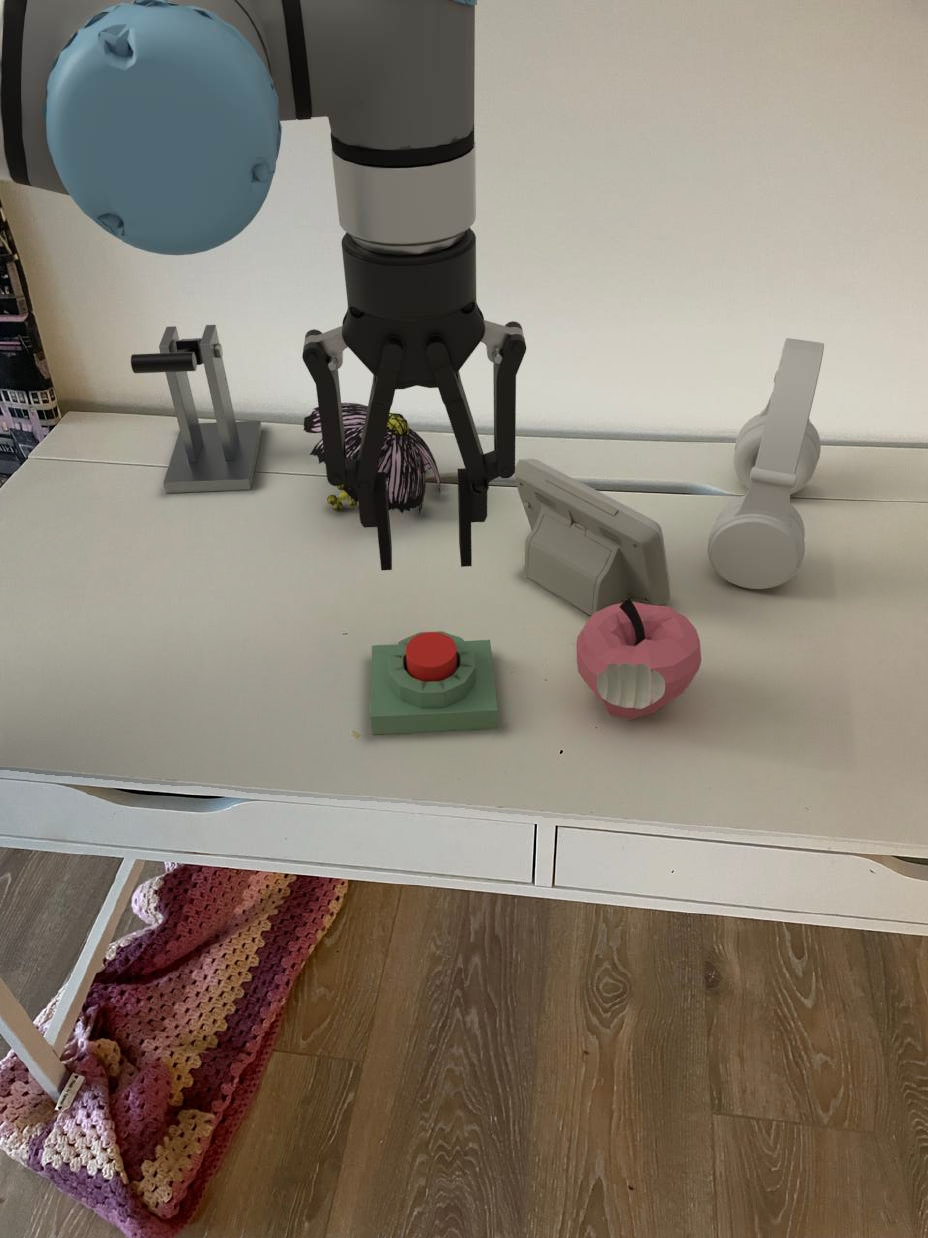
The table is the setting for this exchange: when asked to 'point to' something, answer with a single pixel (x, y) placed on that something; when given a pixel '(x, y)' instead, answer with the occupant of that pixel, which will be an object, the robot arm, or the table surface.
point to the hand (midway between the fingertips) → (426, 555)
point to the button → (431, 656)
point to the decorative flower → (383, 457)
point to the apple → (637, 657)
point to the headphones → (771, 479)
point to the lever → (170, 359)
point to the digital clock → (588, 542)
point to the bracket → (208, 428)
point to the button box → (433, 691)
